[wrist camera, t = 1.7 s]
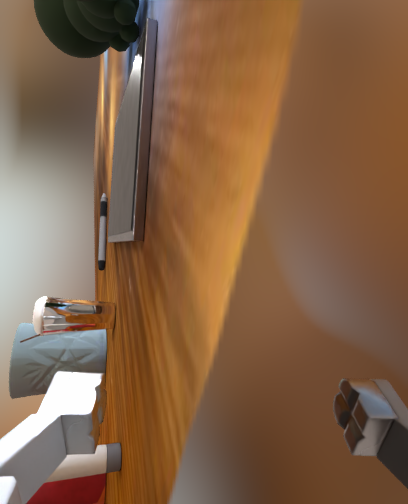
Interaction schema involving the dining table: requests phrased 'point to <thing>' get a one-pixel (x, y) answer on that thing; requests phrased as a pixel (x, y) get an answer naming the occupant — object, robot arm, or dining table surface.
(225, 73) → the dining table surface
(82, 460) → the white cylindrical rod
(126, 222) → the tablet
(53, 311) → the milkshake
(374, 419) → the robot arm
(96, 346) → the grey embossed cup
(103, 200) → the pen
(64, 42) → the toy figurine
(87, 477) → the paper cup
